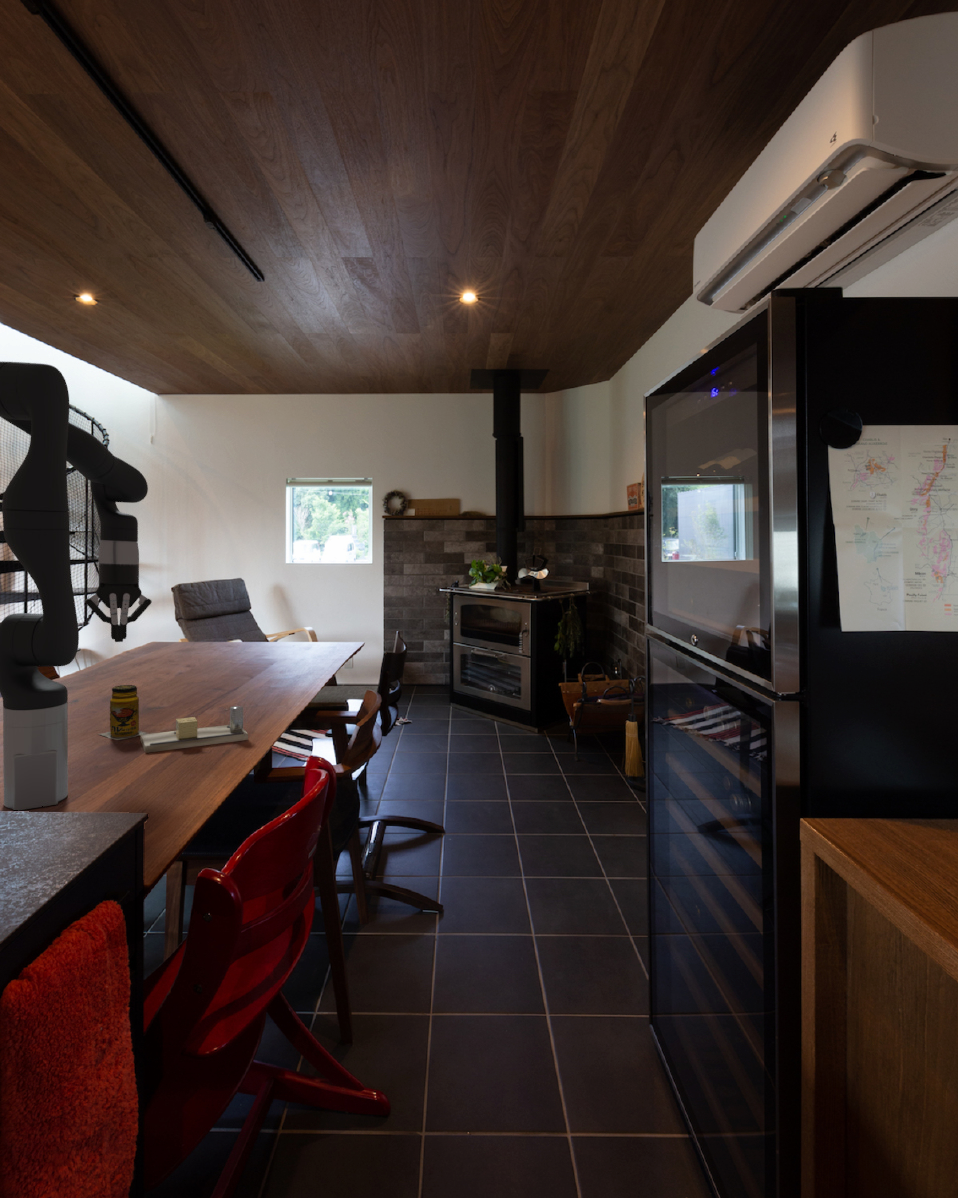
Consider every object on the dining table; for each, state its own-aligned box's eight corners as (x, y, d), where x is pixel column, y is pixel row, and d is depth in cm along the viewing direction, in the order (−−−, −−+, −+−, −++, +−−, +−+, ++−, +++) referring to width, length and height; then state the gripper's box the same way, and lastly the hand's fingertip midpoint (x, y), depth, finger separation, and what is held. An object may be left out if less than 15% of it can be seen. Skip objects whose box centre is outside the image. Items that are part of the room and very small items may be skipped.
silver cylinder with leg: (244, 732, 148) (244, 708, 148) (231, 734, 147) (231, 709, 146) (237, 726, 154) (238, 702, 153) (225, 727, 152) (225, 703, 152)
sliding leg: (197, 737, 142) (197, 721, 142) (178, 740, 140) (178, 723, 139) (192, 730, 148) (192, 714, 147) (173, 732, 145) (174, 716, 145)
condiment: (118, 741, 143) (118, 690, 142) (97, 735, 147) (98, 686, 146) (147, 734, 149) (148, 686, 149) (127, 728, 153) (128, 681, 153)
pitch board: (247, 739, 147) (247, 732, 147) (145, 752, 135) (145, 745, 135) (238, 729, 156) (238, 722, 156) (140, 741, 143) (140, 733, 143)
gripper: (83, 561, 125) (83, 645, 126) (155, 563, 132) (155, 642, 133) (82, 560, 131) (82, 640, 132) (151, 562, 138) (151, 638, 139)
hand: (118, 641), depth 132 cm, fingers closed
